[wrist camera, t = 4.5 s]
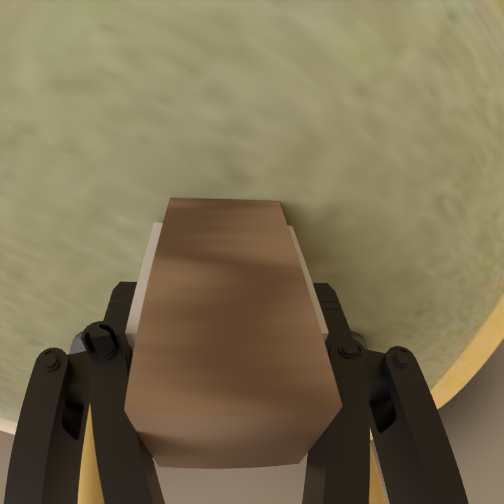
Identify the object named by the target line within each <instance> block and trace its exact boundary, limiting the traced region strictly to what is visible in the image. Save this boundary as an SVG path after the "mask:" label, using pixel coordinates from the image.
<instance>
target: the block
mask: <svg viewBox="0 0 504 504" xmlns="http://www.w3.org/2000/svg"><path fill="white" fill-rule="evenodd" d="M341 408H342V403H341V399H340V395H339V392H338V388H337V384H336V381H335V377H334V374H333V370H332V367H331V363H330V360H329V356H328V353H327V349H326V346H325V343H324V339H323V336H322V332H321V329H320V326H319V322H318V319H317V316H316V313H315V309H314V306H313V303H312V300H311V296H310V293H309V290H308V287H307V284H306V280H305V277H304V274H303V271H302V268H301V265H300V262H299V259H298V255H297V252H296V249H295V246H294V243H293V240H292V237H291V234H290V231H289V228H288V225H287V222H286V219H285V216H284V213H283V210H282V207H281V205H280V202H278V201H255V200H225V199H170V200H169V204H168V207H167V211H166V214H165V218H164V221H163V225H162V229H161V232H160V236H159V240H158V243H157V247H156V251H155V255H154V259H153V263H152V267H151V271H150V275H149V280H148V284H147V288H146V293H145V297H144V302H143V306H142V311H141V316H140V320H139V325H138V330H137V335H136V341H135V346H134V351H133V357H132V363H131V369H130V375H129V381H128V387H127V394H126V400H125V408H124V411H125V413H126V415H127V416H128V418H129V420H130V422H131V423H132V425H133V427H134V428H135V430H136V431H137V433H138V435H139V436H140V438H141V440H142V441H143V443H144V444H145V446H146V447H147V449H148V451H149V452H150V454H151V455H152V457H153V458H154V460H155V461H156V463H157V464H158V466H161V467H177V468H204V469H205V468H207V469H222V468H223V469H224V468H252V467H266V466H278V465H289V464H298V463H299V462H300V461H301V460H302V459H303V458H304V456H305V455H306V454H307V453H308V451H309V450H310V449H311V448H312V446H313V445H314V444H315V443H316V441H317V440H318V439H319V438H320V436H321V435H322V434H323V432H324V431H325V430H326V428H327V427H328V426H329V424H330V423H331V422H332V420H333V419H334V418H335V416H336V415H337V413H338V412H339V411H340V409H341Z"/></svg>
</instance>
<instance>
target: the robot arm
mask: <svg viewBox="0 0 504 504" xmlns="http://www.w3.org/2000/svg"><path fill="white" fill-rule="evenodd" d="M162 225H163V223H154V226H153V229H152V232H151V236H150V239H149V242H148V246H147V249H146V253H145V256H144V260H143V263H142V267H141V271H140V274H139V278H138V282H120V283H119V284H118V285H117V286H116V287H115V288H114V289H113V291H112V294H111V298H110V301H109V304H108V309H107V311H106V314H105V317H104V321H98V322H95V323H92V324H90V325H89V326H87V327H86V328H85V330H84V331H83V332H82V336H81V340H82V342H83V345H84V347H85V349H86V351H83V352H79V353H74V354H69V355H66V353H65V352H64V351H63V350H62V349H59V348H49V349H46V350H44V351H43V352H42V353H41V354H39V356H38V358H37V360H36V362H35V365H34V368H33V371H32V374H31V378H30V381H29V384H28V387H27V391H26V394H25V398H24V401H23V405H22V409H21V413H20V417H19V421H18V425H17V429H16V433H15V438H14V443H13V448H12V453H11V458H10V464H9V470H8V476H7V483H6V490H5V499H4V504H78V491H79V479H80V469H81V460H82V452H83V444H84V437H85V430H86V424H87V418H88V412H89V406H90V408H91V419H92V429H93V438H94V446H95V453H96V460H97V466H98V472H99V478H100V483H101V489H102V494H103V498H104V503H105V504H165V502H164V499H163V495H162V492H161V488H160V484H159V481H158V477H157V474H156V470H155V465H154V461H153V457H152V455H151V454H150V452H149V451H148V449H147V447H146V446H145V444H144V443H143V441H142V440H141V438H140V436H139V435H138V433H137V431H136V430H135V428H134V427H133V425H132V423H131V422H130V420H129V418H128V416H127V415H126V413H125V411H124V408H125V400H126V394H127V387H128V381H129V375H130V369H131V363H132V357H133V351H134V346H135V341H136V335H137V330H138V325H139V320H140V316H141V311H142V306H143V302H144V297H145V293H146V288H147V284H148V280H149V275H150V271H151V267H152V263H153V259H154V255H155V251H156V247H157V243H158V240H159V236H160V232H161V229H162ZM288 228H289V231H290V234H291V237H292V240H293V243H294V246H295V249H296V252H297V255H298V259H299V262H300V265H301V268H302V271H303V274H304V277H305V280H306V284H307V287H308V290H309V293H310V296H311V300H312V303H313V306H314V309H315V313H316V316H317V319H318V322H319V326H320V329H321V332H322V336H323V339H324V343H325V346H326V349H327V353H328V356H329V360H330V363H331V367H332V370H333V374H334V377H335V381H336V384H337V388H338V392H339V395H340V399H341V403H342V408H341V409H340V411H339V412H338V413H337V415H336V416H335V418H334V419H333V420H332V422H331V423H330V424H329V426H328V427H327V428H326V430H325V431H324V432H323V434H322V435H321V436H320V438H319V439H318V440H317V441H316V443H315V444H314V445H313V446H312V448H311V449H310V450H309V451H308V457H307V467H306V476H305V484H304V493H303V500H302V504H369V492H370V429H371V432H372V436H373V439H374V443H375V447H376V450H377V454H378V458H379V462H380V466H381V470H382V473H383V477H384V481H385V486H386V490H387V494H388V498H389V502H390V504H468V500H467V496H466V493H465V489H464V486H463V482H462V479H461V476H460V473H459V470H458V467H457V463H456V460H455V457H454V454H453V452H452V448H451V446H450V443H449V440H448V437H447V435H446V432H445V429H444V426H443V423H442V421H441V418H440V416H439V413H438V410H437V408H436V405H435V403H434V400H433V398H432V395H431V393H430V390H429V388H428V386H427V383H426V381H425V379H424V376H423V374H422V372H421V369H420V367H419V365H418V362H417V360H416V358H415V356H414V355H413V353H412V352H411V351H409V350H408V349H406V348H404V347H401V346H395V347H392V348H390V349H389V350H388V351H387V352H386V353H381V352H376V351H371V350H367V349H365V348H364V347H363V345H362V344H361V343H360V342H359V341H357V340H356V339H354V338H353V336H352V334H351V331H350V329H349V326H348V323H347V321H346V318H345V315H344V313H343V310H342V308H341V305H340V303H339V300H338V297H337V295H336V292H335V291H334V290H333V289H332V288H331V287H330V285H329V284H328V283H312V281H311V278H310V275H309V272H308V269H307V266H306V263H305V260H304V257H303V255H302V252H301V249H300V246H299V243H298V240H297V238H296V235H295V232H294V229H293V226H288Z"/></svg>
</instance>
